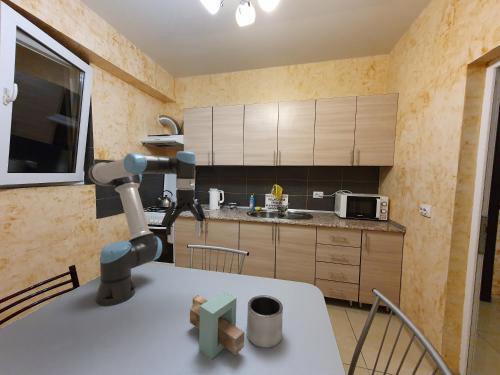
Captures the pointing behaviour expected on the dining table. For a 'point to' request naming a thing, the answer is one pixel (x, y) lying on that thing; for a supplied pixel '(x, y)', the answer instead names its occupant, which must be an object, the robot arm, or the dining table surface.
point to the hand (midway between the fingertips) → (184, 238)
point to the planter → (264, 321)
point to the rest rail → (198, 300)
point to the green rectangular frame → (215, 321)
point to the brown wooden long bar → (222, 331)
